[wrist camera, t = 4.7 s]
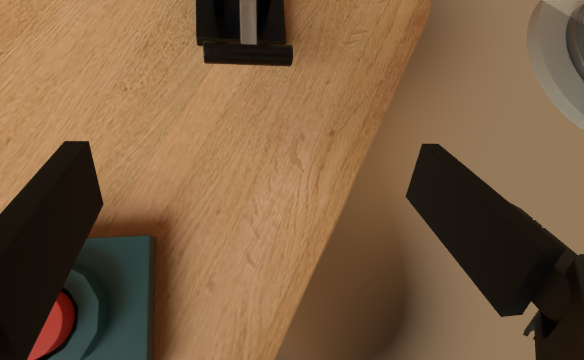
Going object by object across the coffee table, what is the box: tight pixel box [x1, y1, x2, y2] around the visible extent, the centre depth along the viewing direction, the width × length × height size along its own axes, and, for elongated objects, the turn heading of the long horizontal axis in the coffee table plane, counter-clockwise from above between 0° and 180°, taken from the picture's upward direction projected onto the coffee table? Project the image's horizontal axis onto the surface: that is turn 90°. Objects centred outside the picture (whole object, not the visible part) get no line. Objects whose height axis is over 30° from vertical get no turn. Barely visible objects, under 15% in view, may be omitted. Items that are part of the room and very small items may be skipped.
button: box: [27, 291, 75, 360], centre depth 20 cm, size 4×4×2 cm
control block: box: [35, 235, 156, 360], centre depth 23 cm, size 12×10×4 cm
